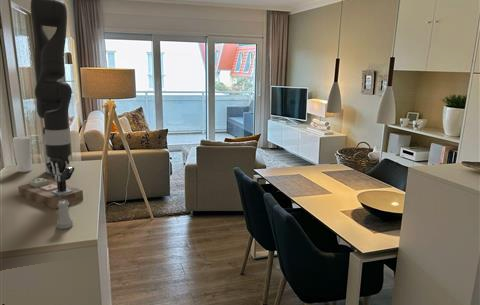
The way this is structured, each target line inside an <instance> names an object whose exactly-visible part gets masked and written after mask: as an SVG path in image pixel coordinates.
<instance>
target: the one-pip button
mask: <svg viewBox="0 0 480 305" xmlns="http://www.w3.org/2000/svg"><path fill="white" fill-rule="evenodd" d="M40 188H41V190H44V191H47V192H48V191H52V190H55V189H58V188H57V186H56V185H53V184H51V185H47V186H44V187H40Z"/></svg>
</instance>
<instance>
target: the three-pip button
mask: <svg viewBox="0 0 480 305" xmlns="http://www.w3.org/2000/svg"><path fill="white" fill-rule="evenodd" d="M46 179H47V178H46ZM46 179H45V178H42V177H39V178H35V179H30V180H28V184H29V185H30V186H33V187H36V188H37V187H40V186H44V185H48V180H46Z"/></svg>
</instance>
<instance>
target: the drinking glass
mask: <svg viewBox="0 0 480 305" xmlns="http://www.w3.org/2000/svg"><path fill="white" fill-rule="evenodd" d="M12 147H13V152H14V156H15V162H16V166H17V171H18V173H27V172H28V173H29V172H31V171H32V170H33V165H32V154H33V153H32V151H33V150H32V149H33V147H32V139H31V136H24V135H23V136H16V137H12Z"/></svg>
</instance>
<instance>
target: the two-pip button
mask: <svg viewBox="0 0 480 305" xmlns="http://www.w3.org/2000/svg"><path fill="white" fill-rule="evenodd" d="M71 192H72V190H69V189H66V190H65V191H62V192H60V191H58V190H55V191H52V193H53V194H55V195H58V196H61V195H65V194H68V193H71Z"/></svg>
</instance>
